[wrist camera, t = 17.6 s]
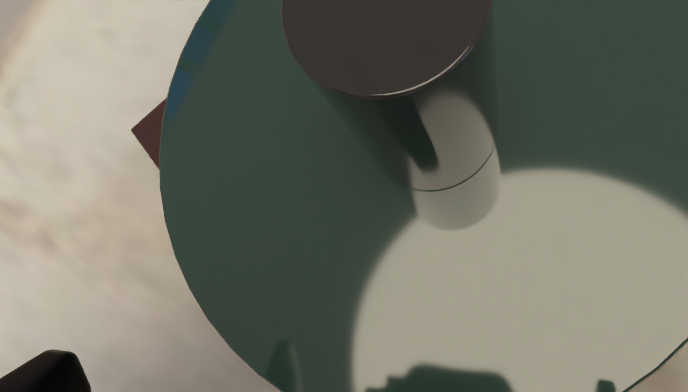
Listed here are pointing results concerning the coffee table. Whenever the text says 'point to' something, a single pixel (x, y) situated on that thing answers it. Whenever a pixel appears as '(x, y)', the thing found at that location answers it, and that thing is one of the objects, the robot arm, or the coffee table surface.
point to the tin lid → (435, 190)
